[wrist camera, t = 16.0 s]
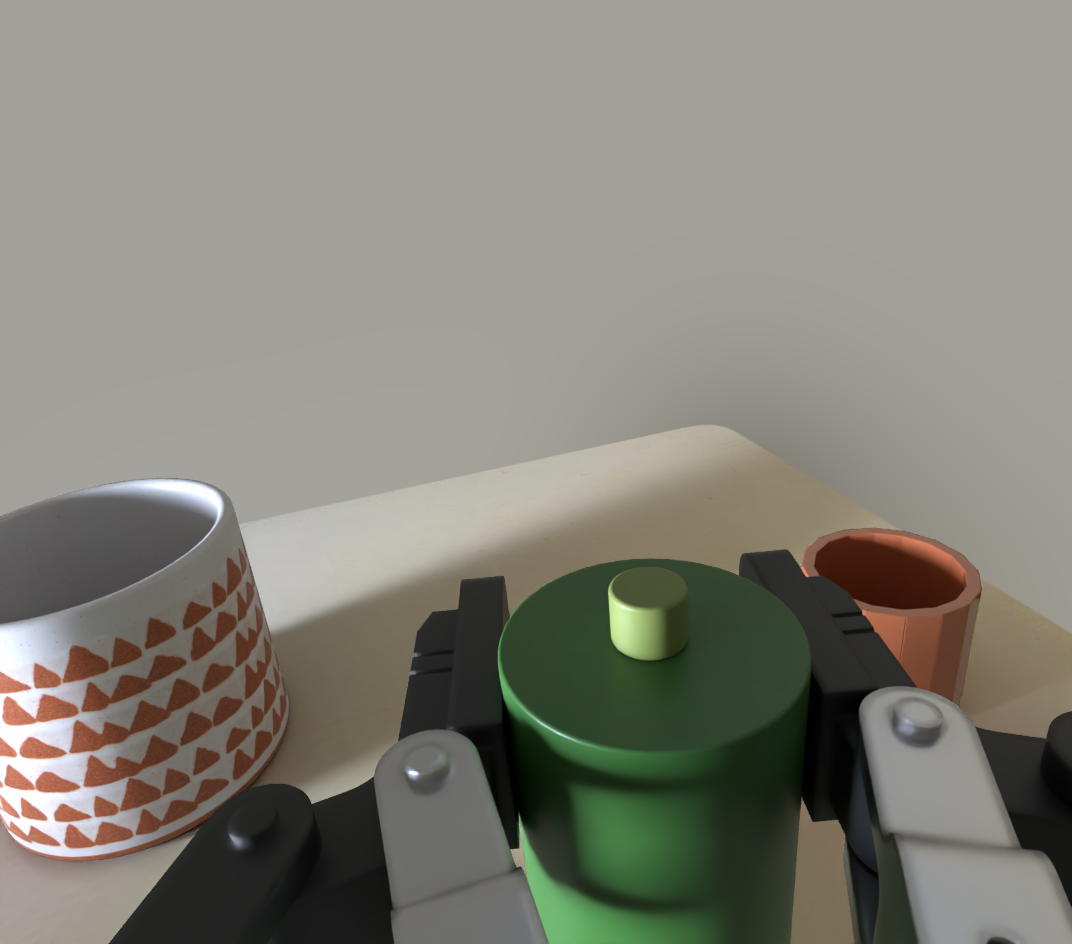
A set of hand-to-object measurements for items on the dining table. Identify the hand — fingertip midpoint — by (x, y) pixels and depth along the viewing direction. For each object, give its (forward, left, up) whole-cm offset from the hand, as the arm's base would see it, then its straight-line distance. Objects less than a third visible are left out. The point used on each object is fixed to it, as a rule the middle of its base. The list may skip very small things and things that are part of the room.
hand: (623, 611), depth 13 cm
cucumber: (-1, +2, -13) cm, 14 cm away
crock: (-5, -25, -20) cm, 32 cm away
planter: (+29, -9, -21) cm, 36 cm away
